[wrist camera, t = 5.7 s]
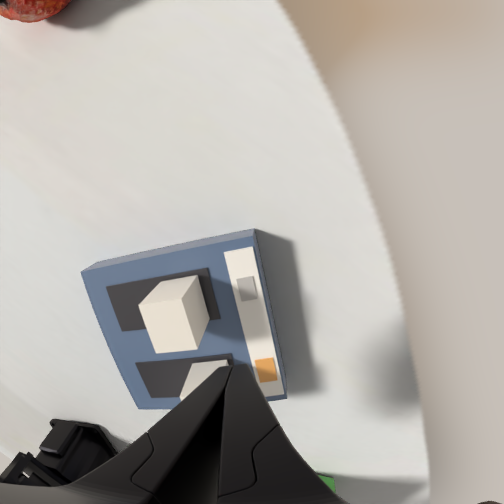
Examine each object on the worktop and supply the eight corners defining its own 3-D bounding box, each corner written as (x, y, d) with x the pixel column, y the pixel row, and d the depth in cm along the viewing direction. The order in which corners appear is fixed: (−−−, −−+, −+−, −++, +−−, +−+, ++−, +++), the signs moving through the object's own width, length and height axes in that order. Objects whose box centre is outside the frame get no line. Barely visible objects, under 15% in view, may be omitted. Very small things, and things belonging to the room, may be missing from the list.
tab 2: (237, 392, 17) (231, 427, 14) (204, 395, 17) (194, 429, 14) (226, 359, 16) (219, 394, 13) (192, 363, 16) (179, 396, 14)
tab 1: (209, 318, 16) (197, 349, 13) (173, 323, 16) (156, 353, 13) (197, 275, 15) (181, 298, 12) (160, 281, 15) (138, 305, 12)
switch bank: (286, 379, 19) (287, 400, 17) (147, 392, 20) (137, 410, 18) (254, 228, 17) (252, 236, 15) (96, 262, 18) (78, 272, 16)
